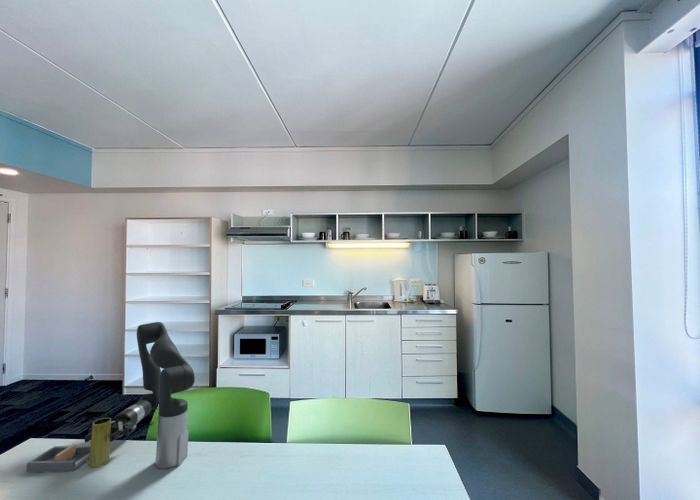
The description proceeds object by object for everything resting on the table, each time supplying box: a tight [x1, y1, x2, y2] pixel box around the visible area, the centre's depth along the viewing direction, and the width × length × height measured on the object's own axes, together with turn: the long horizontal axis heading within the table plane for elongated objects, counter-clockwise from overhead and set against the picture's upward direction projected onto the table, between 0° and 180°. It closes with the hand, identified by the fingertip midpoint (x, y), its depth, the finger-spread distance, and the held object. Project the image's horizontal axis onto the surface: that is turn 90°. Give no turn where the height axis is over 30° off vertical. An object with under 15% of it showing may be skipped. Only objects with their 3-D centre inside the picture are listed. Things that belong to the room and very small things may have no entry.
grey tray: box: [25, 445, 91, 473], centre depth 108 cm, size 15×10×3 cm, turn 93°
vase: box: [87, 417, 112, 468], centre depth 109 cm, size 6×6×14 cm
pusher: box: [55, 443, 78, 461], centre depth 108 cm, size 1×7×4 cm, turn 3°
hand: (98, 439), depth 108 cm, fingers open, 8 cm apart
